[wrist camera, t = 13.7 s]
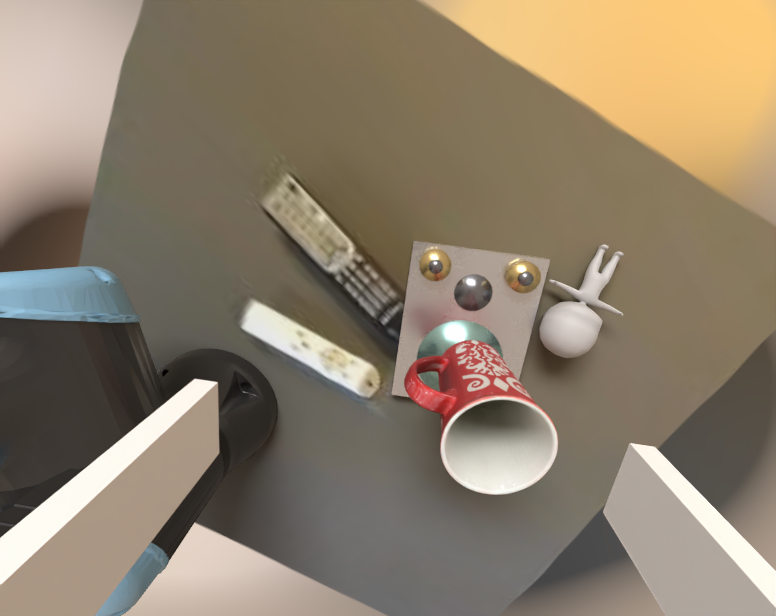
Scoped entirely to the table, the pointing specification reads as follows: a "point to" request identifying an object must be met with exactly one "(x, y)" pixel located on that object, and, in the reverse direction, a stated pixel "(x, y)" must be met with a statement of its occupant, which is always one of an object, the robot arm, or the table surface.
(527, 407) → the mug
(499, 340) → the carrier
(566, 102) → the table surface
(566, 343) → the figurine
